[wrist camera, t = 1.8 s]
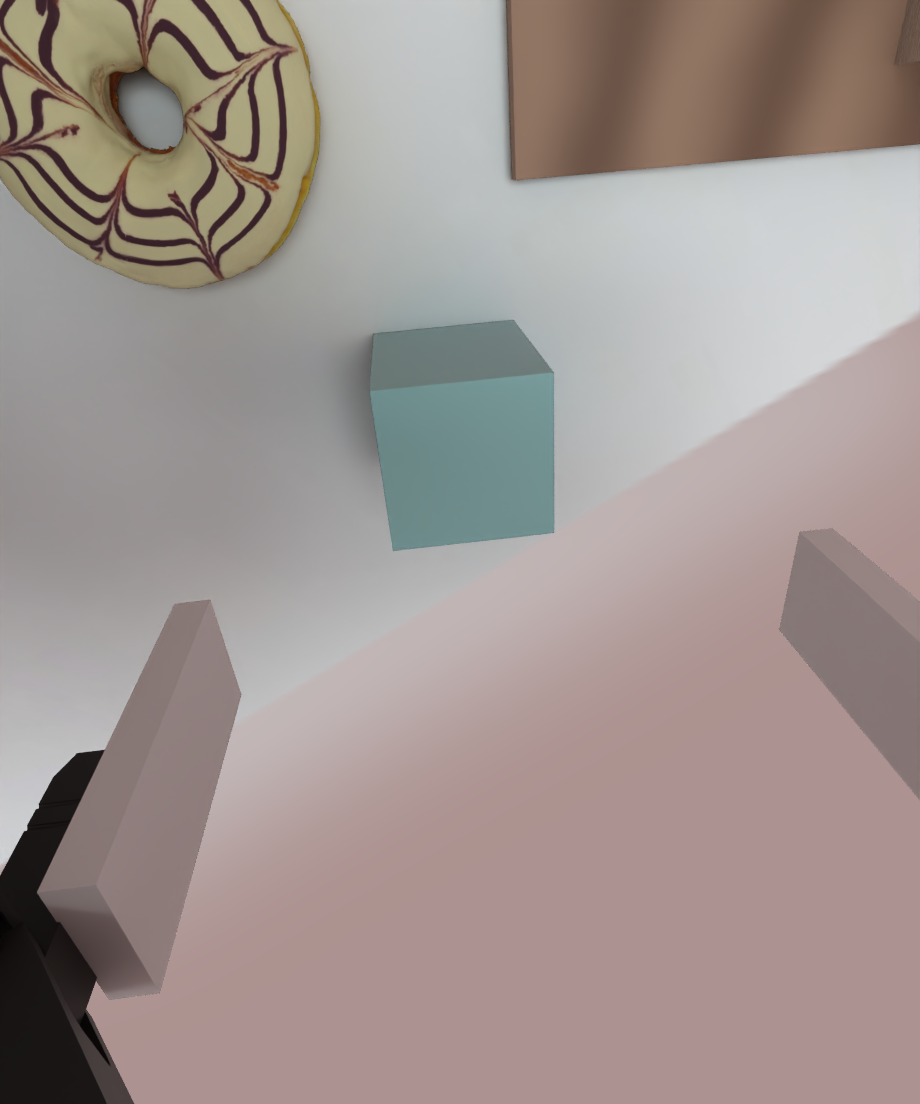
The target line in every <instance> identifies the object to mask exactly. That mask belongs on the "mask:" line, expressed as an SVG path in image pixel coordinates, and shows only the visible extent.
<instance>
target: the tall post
mask: <svg viewBox="0 0 920 1104" xmlns="http://www.w3.org/2000/svg"><path fill="white" fill-rule="evenodd" d="M913 63H920V0H908V1H907V6H906V11H905V16H904V20H903V25H902V30H901V35H900V39H899V44H898V49H897V54H896V58H895V63H894V65H901V64H913Z"/></svg>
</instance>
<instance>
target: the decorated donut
mask: <svg viewBox="0 0 920 1104" xmlns="http://www.w3.org/2000/svg"><path fill="white" fill-rule="evenodd" d="M142 67H145V68H146V69H147V70H148V71H149V72H150V73H151V74H152V75H153V76H154V77H155V78H156V79H157V80H159V81H160V82H161V83H163V84H165V85H166V86H168V87H169V88H171V89H172V90H173V91H174V93H175V94H176V96H177V98H178V100H179V102H180V104H181V108H182V113H183V121H184V122H183V136H182V139H181V141H180V142H179V144H178V145H177V146H176V147H174V148H172V147H171V146H170V147H169V149H167V150H166V149H164V150H158V149H153V148H151V149H149V148H146V147H144V146H142V145H141V144H140V143H139V142H138V141H137V140H136V138H133V135H132V133H131V132H130V131H129V130H128V129H127V128H126V126H125V123H124V120H123V119H122V117H121V116H120V115H119V112H118V109H117V108H118V107H117V104H118V102H117V101H116V99H118V97H117V95H116V89H117V85H118V82H119V81H120V77H121V76H122V75H123V74H124V73H131V72H134V71H138V70H139V69H140V68H142ZM309 70H310V67H309V60H308V56H307V54H306V51H305V47H304V44H303V41H302V39H301V36H300V34H299V31H298V29H297V27H296V25H295V23H294V21H293V20H292V18H291V16H290V14H289V13H288V12H287V11H286V10H285V8H284V7H283V6H282V5H281V4H280V3H279V1H278V0H0V178H1V180H2V181H3V183H4V184H5V186H6V187H7V188H8V190H9V191H10V193H11V194H12V195H13V196H14V197H15V198H16V200H17V201H18V202H19V203H20V204H21V205H22V206H23V207H24V209H25V210H26V211H27V212H29V213H30V214H32V215H33V216H34V217H35V218H36V219H37V220H38V221H39V222H40V223H41V224H42V225H43V226H44V227H45V228H46V229H47V230H48V231H50V232H51V233H52V234H54V235H55V236H56V237H57V238H58V239H59V240H60V241H62V242H63V243H64V244H65V245H66V246H67V247H69V248H70V249H72V250H74V251H75V252H77V253H78V254H80V255H82V256H83V257H85V258H86V259H88V260H90V261H92V262H94V263H96V264H98V265H101V266H103V267H106V268H109V269H111V270H113V271H115V272H117V273H119V274H121V275H123V276H126V277H128V278H131V279H133V280H136V281H139V282H142V283H146V284H153V285H161V286H165V287H169V288H181V289H185V288H193V287H201V286H203V285H205V284H210V283H214V282H217V281H222V280H224V279H227V278H230V277H233V276H235V275H238V274H240V273H242V272H244V271H246V270H249V269H251V268H253V267H254V266H256V265H258V264H259V263H261V262H262V261H263V260H265V259H266V258H267V257H269V256H271V254H273V253H274V252H275V251H276V250H277V249H278V248H280V246H281V245H282V244H283V242H284V241H285V239H286V238H287V237H288V235H289V233H290V232H291V230H292V228H293V226H294V224H295V222H296V220H297V218H298V216H299V213H300V210H301V207H302V205H303V203H304V201H305V199H306V197H307V195H308V193H309V190H310V185H311V181H312V179H313V176H314V169H315V165H316V162H317V158H318V154H319V137H320V112H319V106H318V102H317V99H316V95H315V92H314V90H313V86H312V84H311V82H310V71H309Z"/></svg>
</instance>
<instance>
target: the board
mask: <svg viewBox="0 0 920 1104" xmlns="http://www.w3.org/2000/svg"><path fill="white" fill-rule="evenodd" d="M907 1H908V0H506V9H507V41H508V74H509V107H510V140H511V172H512V179H513V180H523V179H535V178H546V177H557V176H568V175H579V174H591V173H602V172H613V171H624V170H635V169H646V168H658V167H669V166H680V165H691V164H702V163H714V162H725V161H736V160H747V159H758V158H770V157H781V156H792V155H803V154H814V153H825V152H837V151H848V150H859V149H870V148H881V147H893V146H904V145H915V144H920V63H913V64H901V65H894V63H895V58H896V54H897V49H898V44H899V39H900V35H901V30H902V25H903V20H904V16H905V11H906V6H907Z"/></svg>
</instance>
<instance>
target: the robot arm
mask: <svg viewBox="0 0 920 1104" xmlns="http://www.w3.org/2000/svg"><path fill="white" fill-rule="evenodd" d="M779 630H780V631H781V633H783V635H784V636H785V637H786V638H787V640H788V641H789V642H790V644H791V645H792V646H793V647H794V648H795V650H796V651H797V652H798V653H799V655H800V656H801V657H802V658H803V659H804V661H805V662H806V663H807V664H808V665H809V667H810V668H811V669H812V670H813V671H814V673H815V674H816V675H817V676H818V677H819V679H820V680H821V681H822V682H823V684H824V685H825V686H826V687H827V688H828V690H829V691H830V692H831V693H832V695H833V696H834V697H835V698H836V699H837V701H838V702H839V703H840V704H841V705H842V707H843V708H844V709H845V710H846V711H847V713H848V714H849V715H850V716H851V718H852V719H853V720H854V721H855V722H856V724H857V725H858V726H859V727H860V729H861V730H862V731H863V732H864V733H865V735H866V736H867V737H868V738H869V739H870V741H871V742H872V743H873V744H874V745H875V747H876V748H877V749H878V750H879V751H880V753H881V754H882V755H883V756H884V758H885V759H886V760H887V761H888V762H889V764H890V765H891V766H892V767H893V769H894V770H895V771H896V772H897V773H898V775H899V776H900V777H901V778H902V779H903V781H904V782H905V783H906V784H907V786H908V787H909V788H910V789H911V790H912V792H913V793H914V794H915V795H916V796H917V798H918V799H919V800H920V601H919V600H918V599H917V598H915V597H914V596H913V595H912V594H911V593H909V592H908V591H907V590H906V589H905V588H903V587H902V586H901V585H900V584H899V583H897V582H896V581H895V580H894V579H893V578H892V577H890V576H889V575H888V574H887V573H886V572H884V571H883V570H882V569H881V568H880V567H878V566H877V565H876V564H875V563H874V562H872V561H871V560H870V559H869V558H867V557H866V556H865V555H864V554H863V553H861V551H859V550H858V549H857V548H856V547H855V546H853V545H852V544H851V543H850V542H848V541H847V540H846V539H845V538H844V537H843V536H841V535H840V534H839V533H838V532H837V531H835V530H834V529H833V528H829V529H820V530H812V531H803V532H799V536H798V541H797V546H796V551H795V556H794V561H793V565H792V570H791V575H790V580H789V584H788V589H787V594H786V599H785V604H784V609H783V614H782V619H781V623H780V628H779ZM240 698H241V692H240V689H239V686H238V683H237V680H236V677H235V674H234V671H233V668H232V665H231V662H230V659H229V656H228V653H227V650H226V647H225V643H224V640H223V637H222V634H221V631H220V628H219V625H218V622H217V619H216V616H215V613H214V610H213V607H212V604H211V601H210V600H205V601H196V602H187V603H179V604H174V606H173V608H172V610H171V612H170V615H169V617H168V619H167V621H166V623H165V625H164V627H163V629H162V631H161V633H160V636H159V638H158V640H157V642H156V644H155V646H154V648H153V650H152V652H151V654H150V657H149V659H148V661H147V663H146V665H145V667H144V669H143V671H142V673H141V675H140V677H139V680H138V682H137V684H136V686H135V688H134V690H133V692H132V694H131V696H130V698H129V701H128V703H127V705H126V707H125V709H124V711H123V713H122V715H121V717H120V719H119V721H118V724H117V726H116V728H115V730H114V732H113V734H112V736H111V738H110V740H109V742H108V745H107V747H106V749H105V750H100V751H92V752H84V753H77V754H76V755H75V756H74V757H73V758H72V759H71V760H70V761H69V762H68V763H67V764H66V765H65V766H64V767H63V768H62V769H61V770H60V771H59V772H58V773H57V774H56V775H55V776H54V777H53V779H52V781H51V782H50V784H49V786H48V788H47V790H46V792H45V794H44V795H43V797H42V799H41V801H40V803H39V809H36V810H35V812H34V814H33V816H32V818H31V819H30V821H29V823H28V825H27V827H28V829H27V831H24V832H23V834H22V836H21V838H20V840H19V842H18V844H17V845H16V847H15V849H14V851H13V853H12V855H11V857H10V858H9V860H8V862H7V864H6V866H5V868H4V870H3V871H2V874H1V875H0V1104H134V1103H133V1100H132V1099H131V1096H130V1094H129V1092H128V1090H127V1088H126V1086H125V1084H124V1082H123V1080H122V1078H121V1076H120V1074H119V1072H118V1070H117V1068H116V1066H115V1064H114V1062H113V1060H112V1058H111V1056H110V1053H109V1052H108V1050H107V1047H106V1045H105V1043H104V1041H103V1039H102V1037H101V1035H100V1033H99V1031H98V1029H97V1027H96V1025H95V1023H94V1021H93V1019H92V1017H91V1016H90V1014H89V1013H88V1011H87V1010H86V1007H87V1004H88V1002H89V999H90V996H91V993H92V990H93V988H94V985H95V982H96V981H97V983H98V984H99V986H100V987H101V989H102V990H103V992H104V993H105V995H106V996H107V998H108V999H109V1000H113V999H121V998H128V997H135V996H142V995H150V994H157V993H160V991H161V987H162V983H163V980H164V976H165V972H166V969H167V965H168V961H169V958H170V954H171V950H172V947H173V943H174V940H175V936H176V932H177V928H178V925H179V921H180V918H181V914H182V910H183V907H184V903H185V899H186V896H187V892H188V888H189V884H190V881H191V877H192V874H193V870H194V866H195V863H196V859H197V855H198V852H199V848H200V844H201V840H202V837H203V833H204V830H205V826H206V822H207V819H208V815H209V811H210V808H211V804H212V800H213V797H214V793H215V789H216V785H217V782H218V778H219V775H220V771H221V767H222V763H223V760H224V756H225V753H226V749H227V745H228V742H229V738H230V734H231V731H232V727H233V723H234V720H235V716H236V712H237V709H238V705H239V701H240Z"/></svg>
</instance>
